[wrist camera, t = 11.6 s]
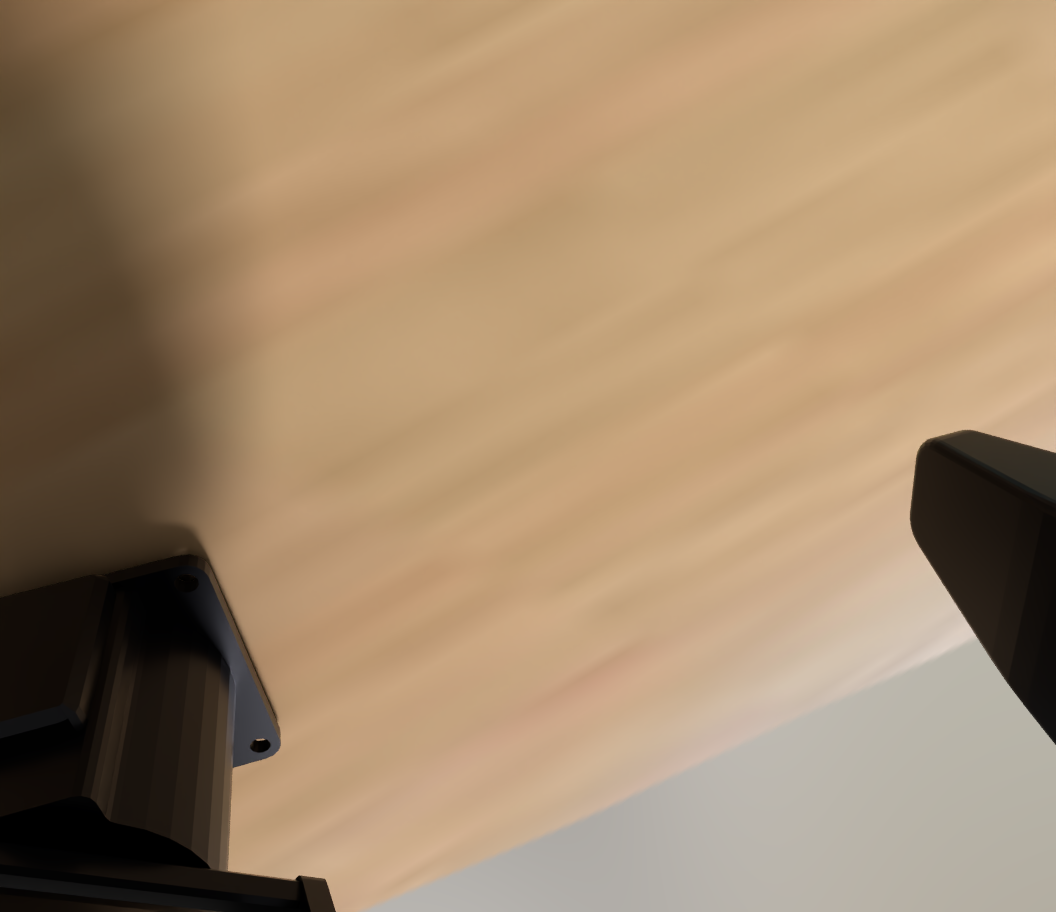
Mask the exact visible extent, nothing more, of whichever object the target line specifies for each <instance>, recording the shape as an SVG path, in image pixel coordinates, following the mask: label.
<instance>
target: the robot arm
mask: <svg viewBox="0 0 1056 912" xmlns="http://www.w3.org/2000/svg"><path fill="white" fill-rule="evenodd" d="M910 522H911V528H912V532H913V535H914V537H915V540H916V542H917V543H918V545H919V547H920V548H921V550H922V552H923V553H924V555H925V556H926V558H927V559H928V561H929V563H930V564H931V566H932V567H933V569H934V570H935V572H936V574H937V575H938V577H939V578H940V580H941V581H942V583H943V585H944V586H945V588H946V589H947V591H948V592H949V594H950V596H951V597H952V599H953V600H954V602H955V603H956V605H957V607H958V608H959V610H960V611H961V613H962V614H963V616H964V618H965V619H966V621H967V622H968V624H969V625H970V627H971V628H972V630H973V632H974V633H975V635H976V636H977V638H978V639H979V641H980V643H981V644H982V646H983V647H984V649H985V650H986V652H987V654H988V655H989V657H990V658H991V660H992V661H993V663H994V664H995V666H996V667H997V669H998V670H999V671H1000V673H1001V674H1002V676H1003V677H1004V679H1005V680H1006V682H1007V683H1008V684H1009V686H1010V687H1011V688H1012V690H1013V691H1014V692H1015V694H1016V695H1017V696H1018V698H1019V699H1020V700H1021V701H1022V702H1023V704H1024V706H1025V707H1026V708H1027V709H1028V711H1029V712H1030V713H1031V714H1032V716H1033V717H1034V718H1035V719H1036V721H1037V722H1038V723H1039V724H1040V726H1041V727H1042V728H1043V730H1044V731H1045V732H1046V733H1047V735H1049V737H1050V738H1051V739H1052V741H1053V742H1054V743H1055V745H1056V453H1054V452H1050V451H1047V450H1043V449H1039V448H1036V447H1032V446H1029V445H1025V444H1021V443H1018V442H1014V441H1010V440H1007V439H1003V438H1000V437H996V436H992V435H989V434H985V433H981V432H978V431H973V430H962V431H957V432H953V433H950V434H946V435H942V436H938V437H935V438H931V439H928V440H927V441H925V442H924V443H923V444H922V445H921V446H920V448H919V450H918V452H917V457H916V465H915V473H914V482H913V491H912V500H911V509H910ZM183 574H190V575H192V576H195V577H196V578H197V579H195V580H193V581H183V580H180V579H179V578H178V577H179V576H181V575H183ZM262 738H263V739H265V740H262V741H257V740H256V739H262ZM280 746H281V740H280V728H279V725H278V723H277V721H276V718H275V716H274V714H273V711H272V709H271V707H270V704H269V702H268V700H267V698H266V695H265V693H264V691H263V688H262V686H261V684H260V681H259V679H258V677H257V674H256V672H255V670H254V667H253V665H252V663H251V660H250V658H249V656H248V653H247V651H246V649H245V646H244V644H243V642H242V640H241V637H240V635H239V633H238V630H237V628H236V626H235V623H234V621H233V619H232V616H231V614H230V612H229V609H228V607H227V605H226V602H225V600H224V598H223V595H222V593H221V591H220V588H219V586H218V584H217V581H216V579H215V577H214V575H213V572H212V570H211V568H210V566H209V565H208V563H207V562H206V561H205V560H204V559H202V558H200V557H199V556H194V555H190V554H189V555H180V556H176V557H172V558H168V559H164V560H160V561H156V562H152V563H148V564H144V565H140V566H136V567H132V568H128V569H124V570H120V571H116V572H112V573H109V574H105V575H90V576H86V577H82V578H78V579H74V580H70V581H66V582H62V583H58V584H54V585H50V586H46V587H42V588H38V589H34V590H30V591H26V592H22V593H18V594H14V595H10V596H6V597H3V598H0V912H336V911H335V908H334V904H333V901H332V898H331V895H330V891H329V888H328V885H327V882H326V880H325V879H322V878H314V877H307V876H298V877H297V878H296V879H295V880H291V879H283V878H276V877H268V876H261V875H253V874H246V873H238V872H231V871H228V856H229V834H230V812H231V791H232V769H233V768H234V767H237V766H241V765H244V764H248V763H251V762H255V761H259V760H262V759H266V758H268V757H270V756H273V755H274V754H275V753H276V752H277V751H278V750H279V748H280Z"/></svg>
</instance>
